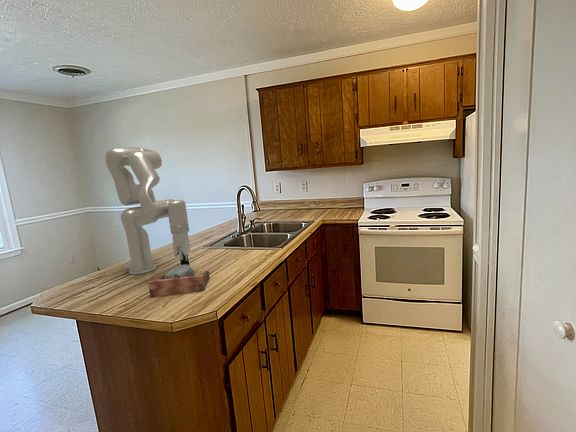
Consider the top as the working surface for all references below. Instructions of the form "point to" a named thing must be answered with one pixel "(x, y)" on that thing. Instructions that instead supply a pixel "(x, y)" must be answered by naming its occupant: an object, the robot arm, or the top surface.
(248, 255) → the top surface
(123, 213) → the robot arm
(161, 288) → the guide channel
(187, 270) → the grey rounded piece
